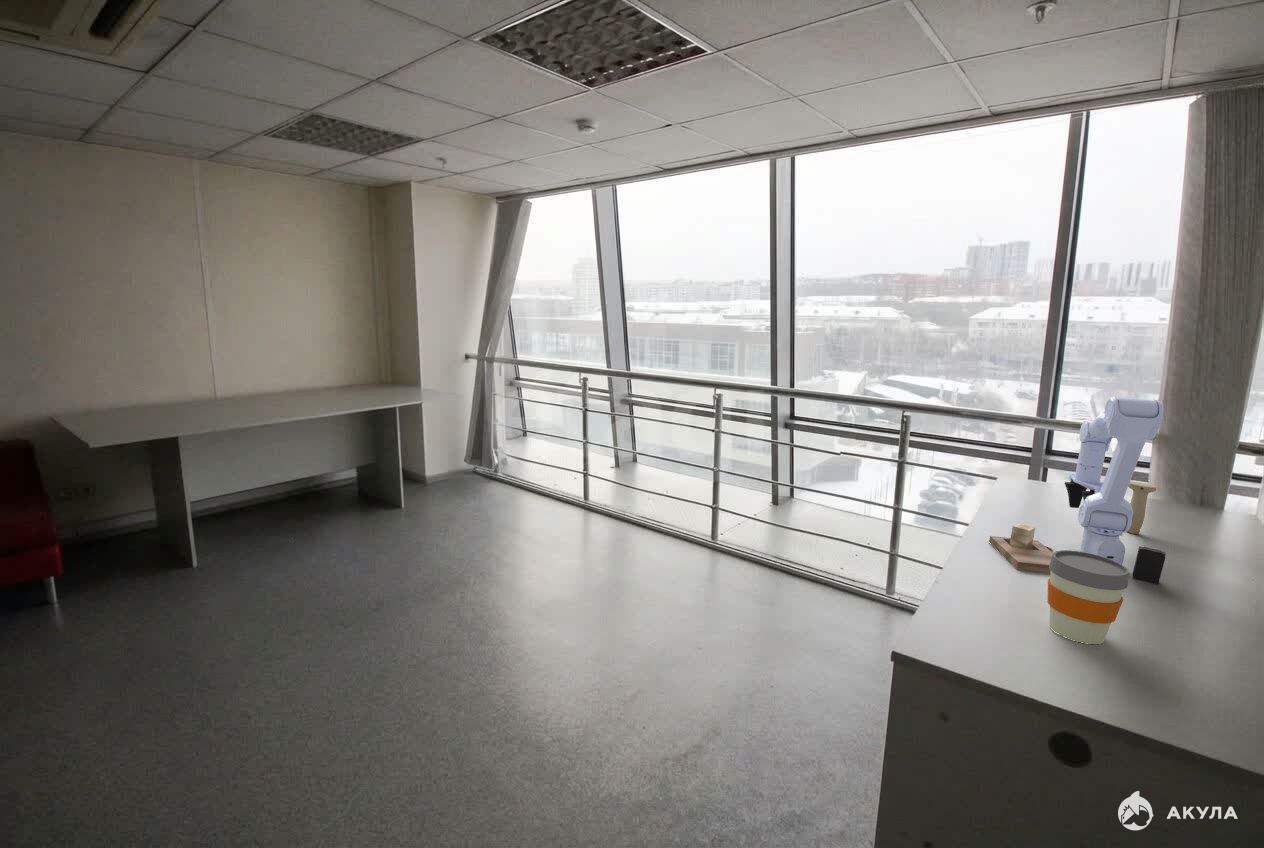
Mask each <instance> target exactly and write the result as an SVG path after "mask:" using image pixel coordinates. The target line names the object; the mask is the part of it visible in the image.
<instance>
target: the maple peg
mask: <svg viewBox="0 0 1264 848" xmlns="http://www.w3.org/2000/svg"><path fill="white" fill-rule="evenodd" d="M1035 532H1036V527H1034V526H1030V525H1028V524H1027V525H1026V524H1022V523H1017V524H1013V525H1012V528H1011V534H1010V538H1011V539H1010V546H1012V547H1013V548H1022V549H1032V544H1033V540H1034V536H1035Z"/></svg>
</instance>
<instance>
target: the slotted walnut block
mask: <svg viewBox="0 0 1264 848" xmlns="http://www.w3.org/2000/svg"><path fill="white" fill-rule="evenodd" d="M1010 539H1011V537H1005V536H1004V537H1003V536H995V535H994V536H993V535H990V536H989V540H988V543H989V542H990V543H991V544H992V545H993V546H994V547H995V548H996V549H997V550H998V551H999V552H1000V553H1001V554H1002V555H1003V556H1004V557H1005V558H1006V559H1005V558H1004V559H1005V560H1006V561H1008V562H1009V563H1010V564H1011V565H1012V566H1013V568H1014V569H1016V570H1017V569H1022V570H1021V571H1026V570H1031V571H1030V572H1036V571H1039V572H1038V573H1045V574H1046V573H1048V574H1051V570H1050V569H1049V564H1050V561H1051V558H1052V555H1053V553H1054V552H1053V551H1052V550H1050V549H1049V548H1048V547H1046V546H1045V545H1044V544H1043V543H1041V542H1040V541H1039V540H1036V539H1035V540H1034V539H1033V544H1032V549H1022V548H1013V547H1012V546H1010ZM990 543H989V544H990ZM991 544H990V545H991ZM992 545H991V546H992ZM993 546H992V547H993ZM994 547H993V548H994ZM995 548H994V549H995ZM996 549H995V550H996ZM997 550H996V551H997ZM998 551H997V552H998ZM999 552H998V553H999ZM1000 553H999V554H1000ZM1001 554H1000V555H1001ZM1002 555H1001V556H1002ZM1003 556H1002V557H1003Z"/></svg>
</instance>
